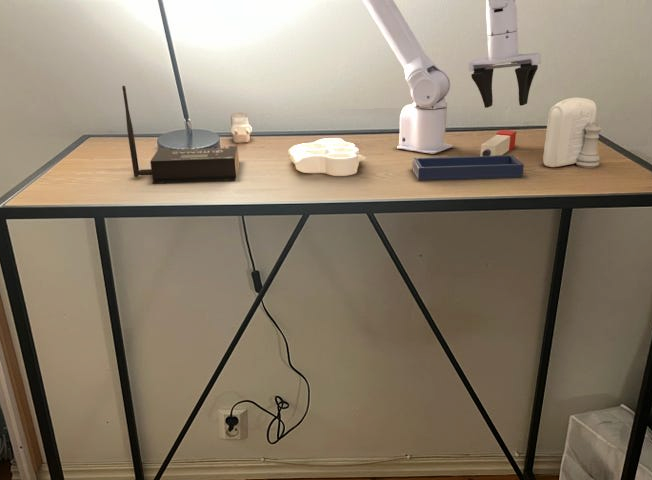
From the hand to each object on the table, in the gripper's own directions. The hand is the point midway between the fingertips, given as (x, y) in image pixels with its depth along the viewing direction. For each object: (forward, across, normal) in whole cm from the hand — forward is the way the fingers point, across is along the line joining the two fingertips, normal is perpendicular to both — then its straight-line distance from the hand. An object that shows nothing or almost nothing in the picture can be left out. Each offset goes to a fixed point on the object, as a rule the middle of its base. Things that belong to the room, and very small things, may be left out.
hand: (505, 105), depth 146 cm
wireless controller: (+1, +45, +48) cm, 66 cm away
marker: (+9, +2, 0) cm, 10 cm away
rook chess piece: (+12, -16, 0) cm, 21 cm away
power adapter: (+1, +54, +23) cm, 59 cm away
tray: (+9, 0, +18) cm, 20 cm away
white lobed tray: (+5, +26, +28) cm, 38 cm away
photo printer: (+12, -12, +1) cm, 17 cm away
